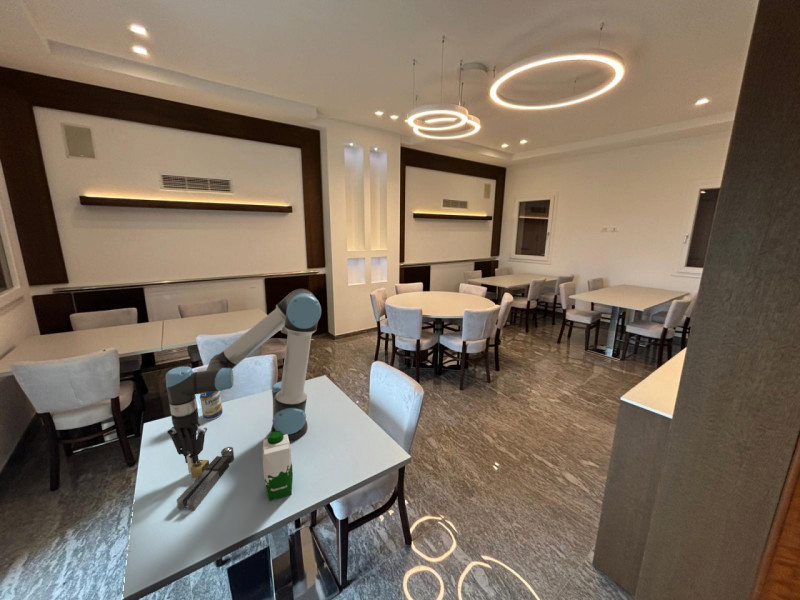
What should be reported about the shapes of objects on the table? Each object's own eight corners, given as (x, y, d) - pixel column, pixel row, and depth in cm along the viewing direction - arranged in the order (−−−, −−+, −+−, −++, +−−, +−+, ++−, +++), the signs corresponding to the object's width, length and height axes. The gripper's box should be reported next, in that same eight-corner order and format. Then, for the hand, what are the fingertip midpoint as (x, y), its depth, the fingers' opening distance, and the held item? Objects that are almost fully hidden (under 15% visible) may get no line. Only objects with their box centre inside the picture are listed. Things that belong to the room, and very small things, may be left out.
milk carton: (292, 477, 112) (288, 427, 107) (294, 496, 103) (290, 443, 99) (265, 484, 108) (260, 433, 104) (266, 505, 100) (260, 450, 96)
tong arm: (218, 465, 117) (216, 456, 116) (223, 465, 116) (221, 456, 116) (178, 509, 98) (176, 498, 97) (184, 509, 98) (182, 498, 97)
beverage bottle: (218, 408, 154) (213, 371, 150) (226, 414, 149) (221, 375, 145) (199, 416, 148) (194, 377, 143) (207, 422, 143) (202, 382, 139)
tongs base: (226, 456, 121) (224, 445, 120) (236, 456, 121) (235, 445, 120) (181, 509, 98) (179, 496, 97) (194, 510, 98) (192, 497, 97)
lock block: (210, 469, 115) (208, 458, 114) (202, 477, 111) (201, 466, 110) (199, 469, 115) (197, 457, 114) (191, 477, 111) (190, 465, 110)
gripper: (157, 416, 104) (168, 477, 109) (195, 418, 104) (204, 478, 109) (174, 404, 111) (183, 462, 116) (209, 405, 111) (217, 463, 116)
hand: (193, 470), depth 113 cm, fingers closed
